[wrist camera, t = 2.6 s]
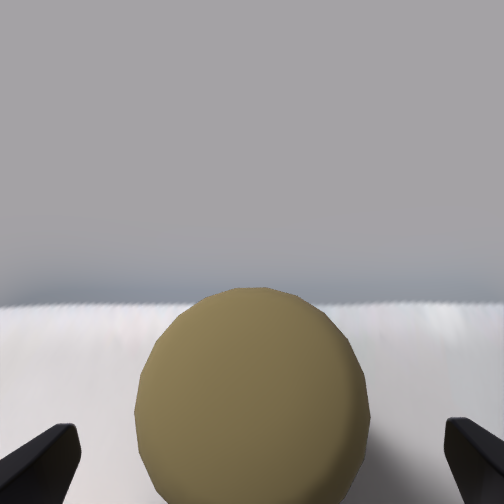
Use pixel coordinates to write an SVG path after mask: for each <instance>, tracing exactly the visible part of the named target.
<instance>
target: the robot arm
mask: <svg viewBox="0 0 504 504" xmlns="http://www.w3.org/2000/svg"><path fill="white" fill-rule="evenodd" d="M444 453H445V457H446V459H447V462H448V464H449V467H450V469H451V472H452V474H453V477H454V479H455V481H456V484H457V486H458V489H459V491H460V494H461V496H462V499H463V501H464V504H504V441H503V440H501V439H499V438H498V437H496V436H495V435H493V434H492V433H490V432H489V431H487V430H485V429H484V428H482V427H481V426H479V425H478V424H476V423H475V422H473V421H472V420H470V419H468V418H465V417H451V418H448V419H447V421H446V427H445V438H444ZM80 459H81V446H80V441H79V437H78V433H77V429H76V426H75V425H74V424H72V423H60V424H56V425H54V426H53V427H51V428H49V429H48V430H46V431H45V432H43V433H42V434H40V435H39V436H37V437H35V438H34V439H32V440H31V441H29V442H28V443H26V444H24V445H23V446H21V447H20V448H18V449H17V450H15V451H14V452H12V453H10V454H9V455H7V456H6V457H4V458H3V459H1V460H0V504H63V501H64V499H65V496H66V494H67V491H68V489H69V486H70V484H71V481H72V479H73V477H74V474H75V472H76V469H77V467H78V464H79V462H80Z"/></svg>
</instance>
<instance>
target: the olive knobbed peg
mask: <svg viewBox="0 0 504 504" xmlns="http://www.w3.org/2000/svg"><path fill="white" fill-rule="evenodd" d="M134 415H135V424H136V432H137V441H138V449H139V454H140V456H141V458H142V461H143V463H144V465H145V467H146V470H147V472H148V474H149V476H150V478H151V481H152V483H153V485H154V487H155V489H156V491H157V492H158V493H159V495H160V496H161V497H162V498H163V499H164V500H165V501H166V502H167V503H168V504H339V503H340V502H341V501H342V500H343V499H344V498H345V496H346V494H347V492H348V490H349V488H350V486H351V484H352V482H353V480H354V478H355V476H356V474H357V472H358V470H359V468H360V467H361V465H362V463H363V461H364V457H365V450H366V444H367V438H368V431H369V425H370V418H371V417H370V410H369V403H368V396H367V389H366V382H365V376H364V373H363V371H362V369H361V367H360V364H359V362H358V360H357V358H356V356H355V354H354V352H353V349H352V347H351V345H350V343H349V341H348V339H347V338H346V337H345V336H344V335H343V333H342V332H341V331H340V330H339V329H338V328H337V327H336V325H335V324H334V323H333V322H332V321H331V320H330V319H329V318H328V316H327V315H326V314H325V313H324V312H322V311H320V310H319V309H317V308H316V307H314V306H312V305H311V304H309V303H308V302H306V301H304V300H303V299H301V298H299V297H298V296H296V295H292V294H288V293H284V292H281V291H277V290H274V289H270V288H234V289H231V290H228V291H225V292H222V293H219V294H215V295H212V296H209V297H206V298H204V299H203V300H201V301H200V302H198V303H197V304H195V305H194V306H192V307H191V308H189V309H188V310H186V311H185V312H183V313H182V314H180V315H179V316H178V317H177V318H176V319H175V320H174V321H173V323H172V324H171V325H170V326H169V327H168V328H167V330H166V331H165V332H164V333H163V334H162V335H161V336H160V338H159V339H158V340H157V341H156V343H155V345H154V347H153V349H152V351H151V353H150V356H149V358H148V360H147V362H146V364H145V366H144V368H143V370H142V373H141V375H140V381H139V387H138V393H137V399H136V405H135V411H134Z"/></svg>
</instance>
